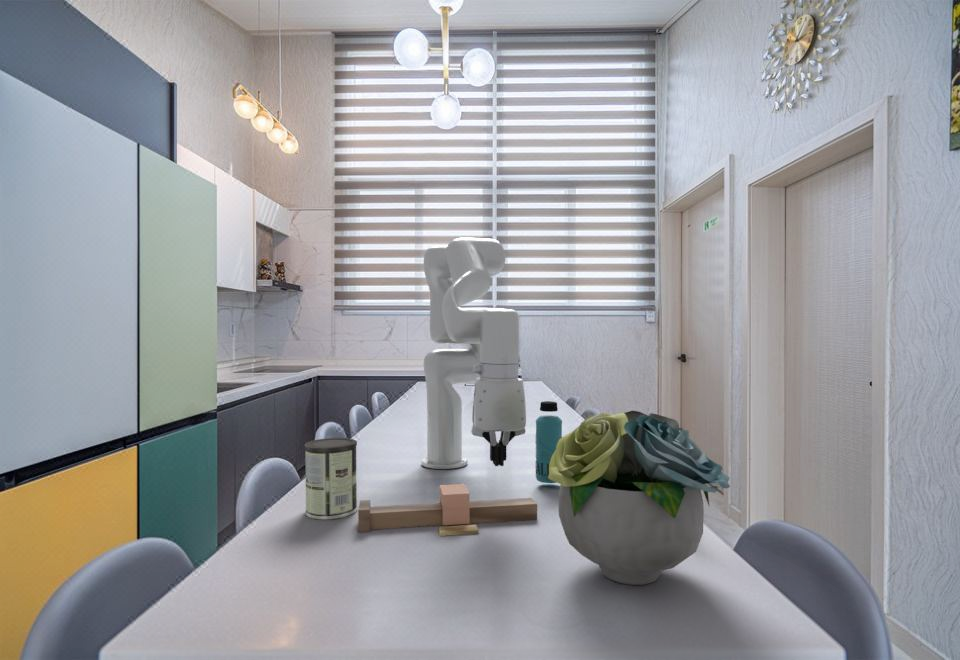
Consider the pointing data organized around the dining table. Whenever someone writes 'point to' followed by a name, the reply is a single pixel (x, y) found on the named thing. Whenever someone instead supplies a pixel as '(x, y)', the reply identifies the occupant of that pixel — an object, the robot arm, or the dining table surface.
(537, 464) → the beverage bottle
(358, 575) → the dining table surface
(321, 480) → the coffee can
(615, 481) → the flower arrangement
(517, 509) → the beam
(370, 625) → the dining table surface
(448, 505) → the block
